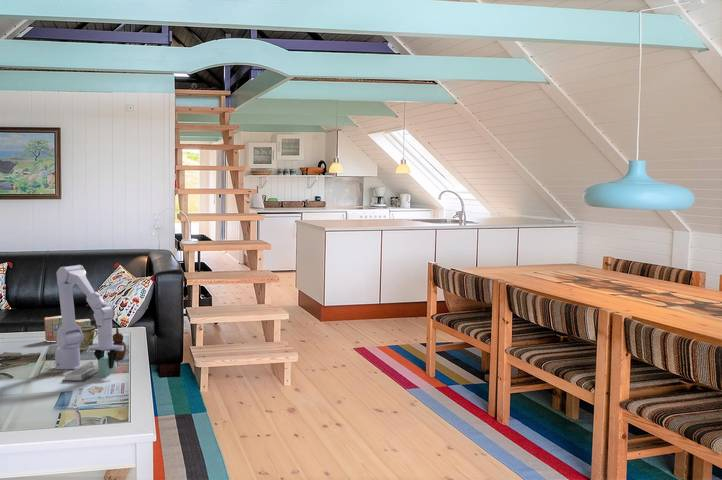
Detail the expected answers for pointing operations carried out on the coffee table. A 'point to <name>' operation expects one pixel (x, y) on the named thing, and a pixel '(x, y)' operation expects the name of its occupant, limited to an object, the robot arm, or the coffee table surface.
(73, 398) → the coffee table surface
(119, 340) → the wooden figurine
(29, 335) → the coffee table surface
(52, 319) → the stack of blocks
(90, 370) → the track
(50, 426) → the coffee table surface
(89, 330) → the ceramic cup
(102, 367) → the door panel
